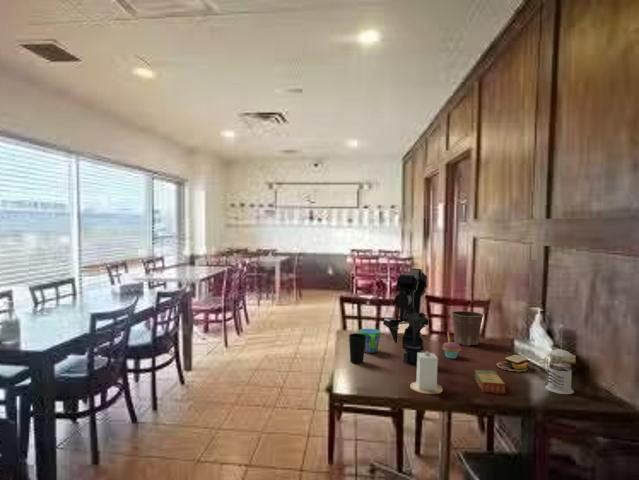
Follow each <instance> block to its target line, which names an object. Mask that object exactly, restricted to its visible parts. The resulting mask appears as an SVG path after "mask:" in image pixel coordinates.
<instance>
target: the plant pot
mask: <svg viewBox="0 0 639 480" xmlns="http://www.w3.org/2000/svg"><path fill="white" fill-rule="evenodd" d="M451 316H452V321H453V332H454V335H453V336H454V343H457V344H459V345H461V346H467V347H471V346H470V345H476V346H479V343H480V336H481V335H480V334H481V326H482V323H483V317H484V314H483V313H480V312H476V311H470V310H469V311H468V310H458V311H457V310H455V311H452V312H451Z"/></svg>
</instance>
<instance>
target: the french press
mask: <svg viewBox="0 0 639 480" xmlns="http://www.w3.org/2000/svg"><path fill="white" fill-rule="evenodd" d="M558 327H559V328H560V329H565V327H566V326H565V325H564V324H560V325H559V326H558ZM560 332H561V337H560V349H558V348H557V349H552V350H550V351H549V352H548V353H549V354H547V355H545V357H544V359H543V361H546V365H545V364H543V366H544V367H543V368H544V369H545V372H547V374H548V381H547V385H545V387H544V388H545V389H546V390H547V391H549V392H552V393H556V394H560V395H561V394H562V395H571V394H574V393H575V391H574V390H573V389H572V375H573V374H572V373H573V372H572V371H573V369H572V368H571V367H572V365H571V364H569V363H566V362H562V359H570V358H573V357H574V356H573V353H570V351H567V350H564V349H562V343H563V341H562V340H563V331H560ZM551 356H552V357H551ZM554 357H556V358H557V357H558V358H560V359H559V361H557V360H556V361H550V363H549V365H548V361H549V358H550V359H552V360H553V359H554ZM546 366H547V369H548V370H547V369H546Z"/></svg>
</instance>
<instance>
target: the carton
mask: <svg viewBox="0 0 639 480" xmlns="http://www.w3.org/2000/svg"><path fill="white" fill-rule="evenodd" d="M474 378H475V379H474ZM474 378H473V379H474V381H475V380H476V381H475V383H476V384H477V383H478V384H477V386H478V385H479V386H478V387H479V388H481V389H480V391H481V390H482V391H481V392H482V393H486V392H493V393H492V394H499V393H505V394H506V383H505V381H504V380H503V379H502V378H501V377H500V376H499V374H498V373H497V371H496V370H485V369H483V370H482V369H480V370H479V369H474Z"/></svg>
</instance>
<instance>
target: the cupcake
mask: <svg viewBox="0 0 639 480" xmlns="http://www.w3.org/2000/svg"><path fill="white" fill-rule="evenodd" d="M441 347H442V350H443V351H444V354H445V357H446V358H448V359H456V358H457V356H458V354H459V352H461V350H462V345H461V344H457V343H455V341H451V339H450V333H449V331H447V341H446V342H444V343H443V344H442V346H441Z"/></svg>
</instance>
